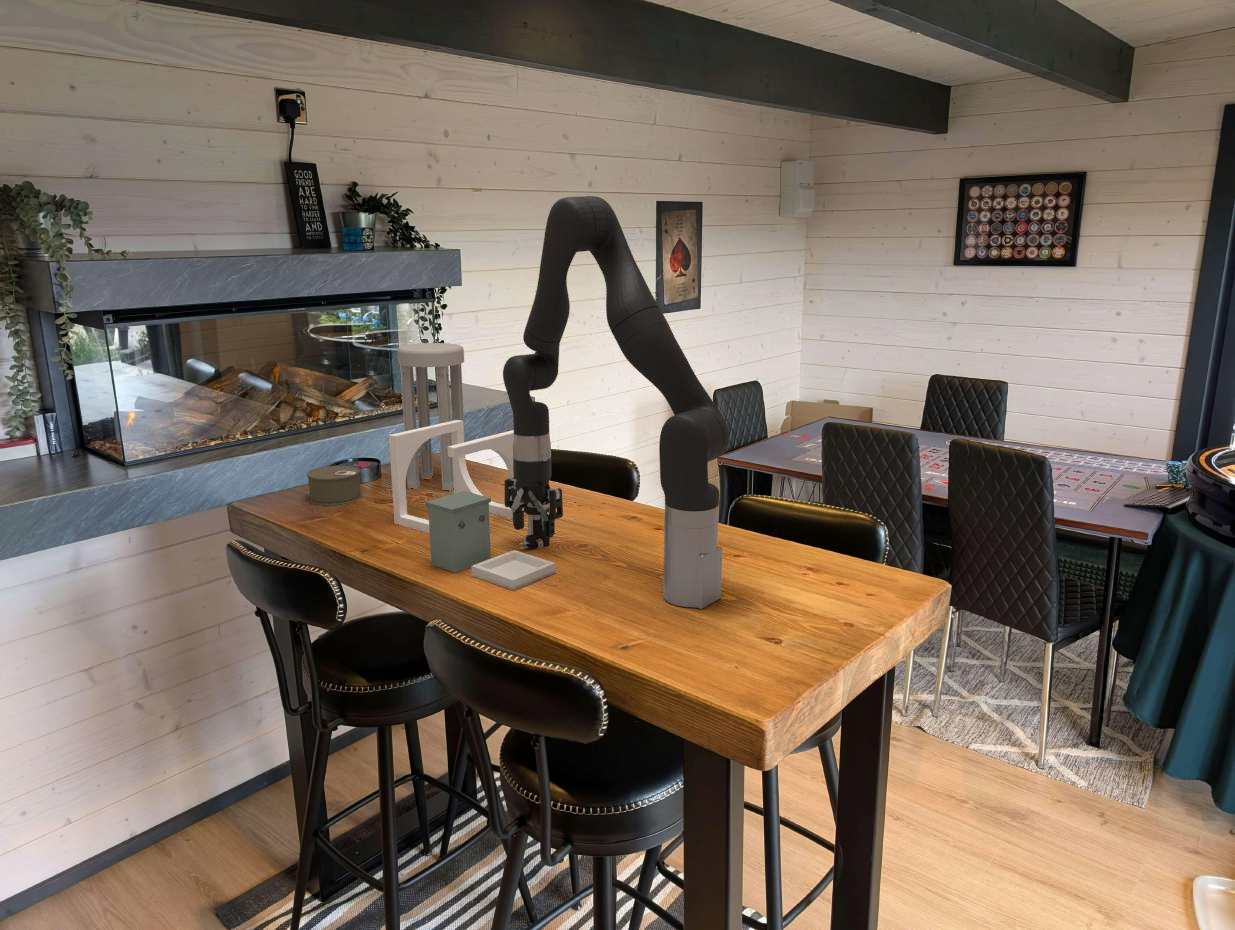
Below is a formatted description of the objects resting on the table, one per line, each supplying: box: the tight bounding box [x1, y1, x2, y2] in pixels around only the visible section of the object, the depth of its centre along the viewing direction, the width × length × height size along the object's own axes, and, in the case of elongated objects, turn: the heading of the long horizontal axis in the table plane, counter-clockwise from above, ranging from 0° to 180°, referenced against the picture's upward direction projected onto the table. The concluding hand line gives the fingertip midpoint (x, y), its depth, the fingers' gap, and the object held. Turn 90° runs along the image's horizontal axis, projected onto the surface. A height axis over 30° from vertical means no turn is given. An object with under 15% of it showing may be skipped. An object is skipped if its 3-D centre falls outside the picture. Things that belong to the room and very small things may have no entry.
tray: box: [471, 549, 557, 591], centre depth 164 cm, size 11×11×2 cm
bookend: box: [388, 420, 524, 534], centre depth 193 cm, size 20×20×20 cm
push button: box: [519, 502, 551, 551], centre depth 178 cm, size 7×5×10 cm
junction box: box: [425, 491, 492, 574], centre depth 169 cm, size 8×10×13 cm
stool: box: [396, 342, 466, 492], centre depth 220 cm, size 16×16×35 cm
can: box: [306, 465, 362, 507], centre depth 211 cm, size 12×12×7 cm
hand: (533, 533), depth 178 cm, fingers open, 8 cm apart
